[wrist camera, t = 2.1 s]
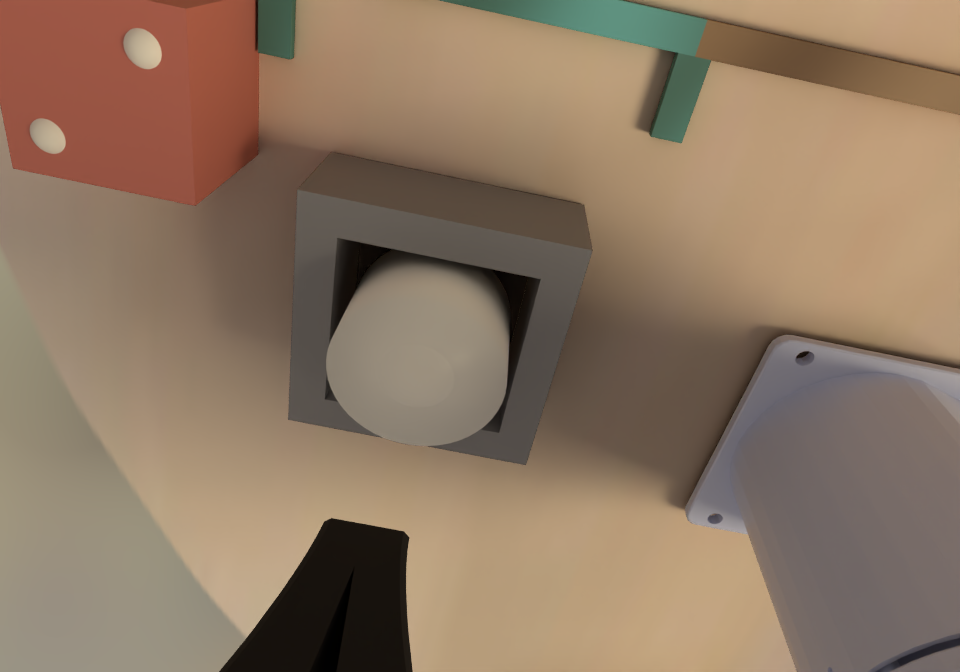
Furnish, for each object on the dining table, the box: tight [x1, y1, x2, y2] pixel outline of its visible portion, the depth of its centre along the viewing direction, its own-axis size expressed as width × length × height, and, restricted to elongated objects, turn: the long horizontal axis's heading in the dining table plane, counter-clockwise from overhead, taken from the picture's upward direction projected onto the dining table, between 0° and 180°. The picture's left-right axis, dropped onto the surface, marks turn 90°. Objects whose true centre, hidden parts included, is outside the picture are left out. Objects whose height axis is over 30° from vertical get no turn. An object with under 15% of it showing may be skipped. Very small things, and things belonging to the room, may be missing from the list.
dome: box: [326, 249, 511, 446], centre depth 17 cm, size 4×4×3 cm
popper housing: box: [288, 152, 593, 465], centre depth 18 cm, size 7×7×3 cm
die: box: [0, 0, 259, 206], centre depth 15 cm, size 4×4×4 cm
